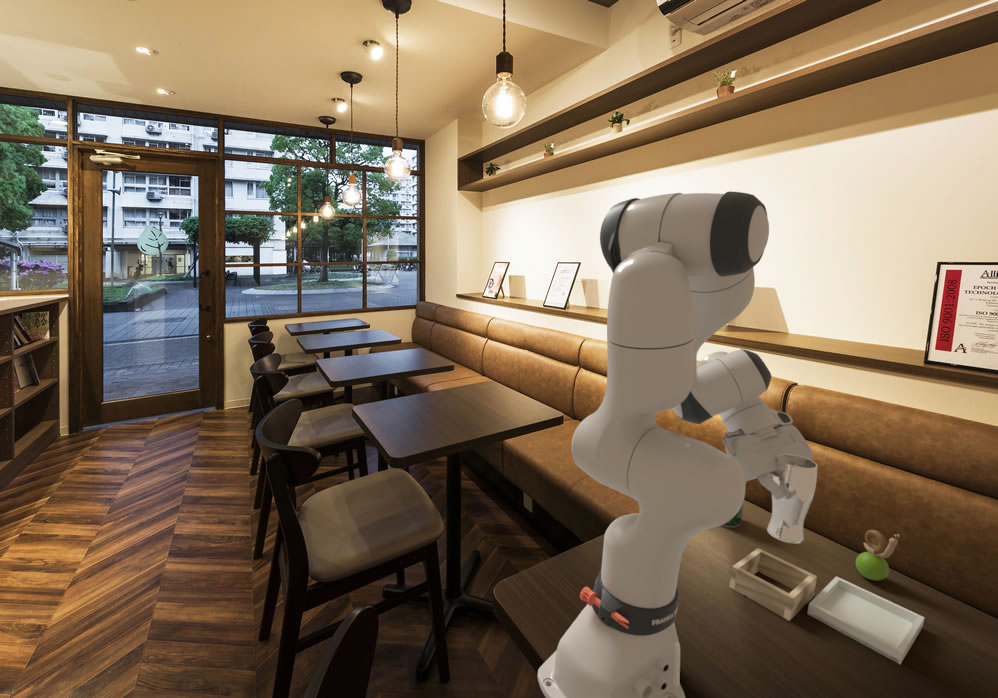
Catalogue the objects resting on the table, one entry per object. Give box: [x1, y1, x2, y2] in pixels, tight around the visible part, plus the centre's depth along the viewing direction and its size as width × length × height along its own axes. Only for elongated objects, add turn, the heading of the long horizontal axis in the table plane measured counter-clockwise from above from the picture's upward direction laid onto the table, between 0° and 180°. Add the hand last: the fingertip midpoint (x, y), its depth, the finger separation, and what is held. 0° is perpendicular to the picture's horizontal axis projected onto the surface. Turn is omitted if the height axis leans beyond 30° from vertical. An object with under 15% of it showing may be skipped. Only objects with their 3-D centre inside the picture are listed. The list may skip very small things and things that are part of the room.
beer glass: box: [766, 454, 818, 544], centre depth 89 cm, size 7×7×15 cm
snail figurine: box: [855, 529, 901, 582], centre depth 97 cm, size 5×6×12 cm
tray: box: [806, 576, 925, 665], centre depth 86 cm, size 14×14×2 cm
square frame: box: [729, 547, 818, 622], centre depth 93 cm, size 11×11×4 cm
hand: (795, 493), depth 88 cm, fingers closed on beer glass, 7 cm apart
